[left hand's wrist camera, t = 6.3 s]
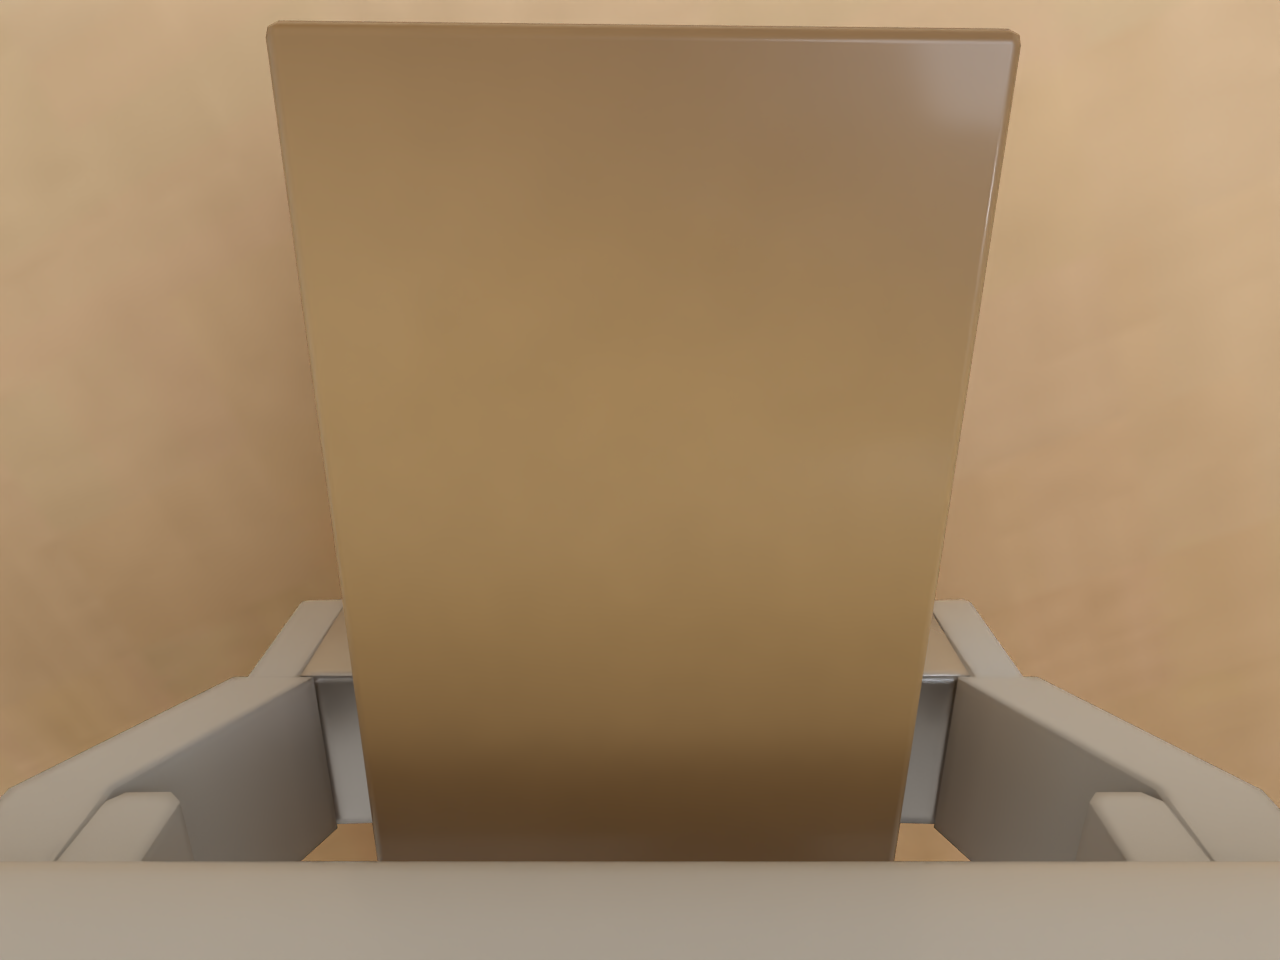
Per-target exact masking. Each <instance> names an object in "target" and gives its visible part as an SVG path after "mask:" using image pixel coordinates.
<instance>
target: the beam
mask: <svg viewBox="0 0 1280 960" xmlns="http://www.w3.org/2000/svg"><path fill="white" fill-rule="evenodd" d="M266 43H267V50H268V58H269V65H270V72H271V80H272V87H273V94H274V102H275V109H276V117H277V124H278V131H279V139H280V146H281V153H282V161H283V168H284V175H285V183H286V190H287V198H288V205H289V212H290V220H291V227H292V234H293V242H294V249H295V257H296V264H297V271H298V279H299V286H300V293H301V301H302V308H303V316H304V323H305V330H306V338H307V345H308V352H309V360H310V367H311V374H312V382H313V389H314V397H315V404H316V411H317V419H318V426H319V433H320V441H321V448H322V456H323V463H324V470H325V478H326V485H327V492H328V500H329V507H330V515H331V522H332V529H333V537H334V544H335V551H336V559H337V566H338V573H339V581H340V588H341V596H342V603H343V610H344V618H345V625H346V632H347V640H348V647H349V655H350V662H351V669H352V677H353V684H354V691H355V699H356V706H357V714H358V721H359V728H360V736H361V743H362V750H363V758H364V765H365V772H366V780H367V787H368V795H369V802H370V809H371V817H372V824H373V831H374V839H375V846H376V854H377V861H894V859H895V852H896V846H897V839H898V833H899V826H900V820H901V814H902V807H903V801H904V794H905V788H906V781H907V775H908V768H909V762H910V756H911V749H912V743H913V736H914V730H915V723H916V717H917V711H918V704H919V698H920V691H921V685H922V678H923V672H924V665H925V659H926V653H927V646H928V640H929V633H930V627H931V620H932V614H933V608H934V601H935V595H936V588H937V582H938V575H939V569H940V562H941V556H942V550H943V543H944V537H945V530H946V524H947V517H948V511H949V504H950V498H951V492H952V485H953V479H954V472H955V466H956V459H957V453H958V447H959V440H960V434H961V427H962V421H963V414H964V408H965V401H966V395H967V389H968V382H969V376H970V369H971V363H972V356H973V350H974V344H975V337H976V331H977V324H978V318H979V311H980V305H981V298H982V292H983V286H984V279H985V273H986V266H987V260H988V253H989V247H990V241H991V234H992V228H993V221H994V215H995V208H996V202H997V195H998V189H999V183H1000V176H1001V170H1002V163H1003V157H1004V150H1005V144H1006V137H1007V131H1008V125H1009V118H1010V112H1011V105H1012V99H1013V92H1014V86H1015V80H1016V73H1017V67H1018V60H1019V54H1020V47H1021V44H1020V37H1019V34H1017V33H1015V32H1013V31H1011V30H1009V29H979V28H889V27H798V26H708V25H618V24H528V23H437V22H347V21H278V22H275V23H273V24H271V25H269V26H268V28H267V34H266Z"/></svg>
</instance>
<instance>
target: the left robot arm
mask: <svg viewBox="0 0 1280 960" xmlns="http://www.w3.org/2000/svg"><path fill="white" fill-rule="evenodd" d="M348 823H372V817H371V809H370V802H369V795H368V787H367V780H366V772H365V765H364V758H363V750H362V743H361V736H360V728H359V721H358V714H357V706H356V699H355V691H354V684H353V677H352V669H351V662H350V655H349V647H348V640H347V632H346V625H345V618H344V610H343V603H342V599H334V600H308V601H303V602H301V603H300V604H299V606H298V607H297V609H296V610H295V611H294V613H293V614H292V616H291V617H290V618H289V620H288V621H287V623H286V624H285V625H284V627H283V628H282V630H281V631H280V632H279V634H278V635H277V636H276V638H275V639H274V641H273V642H272V643H271V645H270V646H269V648H268V649H267V650H266V652H265V653H264V655H263V656H262V657H261V659H260V660H259V662H258V663H257V664H256V666H255V667H254V669H253V670H252V671H251V673H250V674H249V675H248V677H232V678H230V679H228V680H226V681H224V682H222V683H220V684H218V685H216V686H214V687H212V688H210V689H208V690H206V691H204V692H202V693H200V694H198V695H196V696H194V697H192V698H190V699H188V700H186V701H184V702H182V703H180V704H178V705H176V706H174V707H172V708H170V709H168V710H166V711H164V712H162V713H160V714H158V715H156V716H154V717H152V718H150V719H148V720H146V721H144V722H142V723H140V724H138V725H136V726H134V727H132V728H130V729H128V730H126V731H124V732H122V733H120V734H118V735H116V736H114V737H112V738H110V739H108V740H106V741H104V742H102V743H100V744H98V745H96V746H94V747H92V748H90V749H88V750H86V751H84V752H82V753H80V754H78V755H76V756H73V757H71V758H69V759H67V760H65V761H63V762H61V763H59V764H57V765H55V766H53V767H51V768H49V769H47V770H45V771H43V772H41V773H39V774H37V775H35V776H33V777H31V778H29V779H27V780H25V781H23V782H21V783H19V784H17V785H15V786H13V787H11V788H9V789H8V790H7V791H6V792H5V793H4V794H3V795H2V796H1V797H0V960H1280V809H1279V808H1278V807H1277V806H1276V805H1275V804H1274V802H1273V801H1272V800H1271V799H1270V798H1269V797H1268V796H1267V795H1266V794H1265V793H1264V792H1263V791H1262V790H1261V789H1259V788H1257V787H1255V786H1253V785H1251V784H1249V783H1247V782H1245V781H1243V780H1241V779H1239V778H1237V777H1235V776H1233V775H1231V774H1229V773H1227V772H1225V771H1223V770H1221V769H1219V768H1217V767H1215V766H1213V765H1211V764H1209V763H1207V762H1205V761H1203V760H1201V759H1199V758H1197V757H1195V756H1194V755H1192V754H1190V753H1188V752H1186V751H1184V750H1182V749H1180V748H1178V747H1176V746H1174V745H1172V744H1170V743H1168V742H1166V741H1164V740H1162V739H1160V738H1158V737H1156V736H1154V735H1152V734H1150V733H1148V732H1146V731H1144V730H1142V729H1140V728H1138V727H1136V726H1134V725H1132V724H1130V723H1128V722H1126V721H1124V720H1122V719H1120V718H1118V717H1116V716H1114V715H1112V714H1110V713H1108V712H1106V711H1104V710H1102V709H1100V708H1098V707H1096V706H1094V705H1092V704H1090V703H1088V702H1086V701H1084V700H1082V699H1080V698H1078V697H1076V696H1074V695H1072V694H1070V693H1068V692H1066V691H1064V690H1062V689H1060V688H1058V687H1056V686H1054V685H1052V684H1051V683H1049V682H1047V681H1045V680H1043V679H1041V678H1039V677H1023V675H1022V674H1021V673H1020V671H1019V670H1018V668H1017V667H1016V665H1015V664H1014V663H1013V661H1012V660H1011V658H1010V657H1009V656H1008V654H1007V653H1006V651H1005V650H1004V649H1003V647H1002V646H1001V644H1000V643H999V642H998V640H997V639H996V637H995V636H994V634H993V633H992V632H991V630H990V629H989V627H988V626H987V625H986V623H985V622H984V620H983V619H982V618H981V616H980V615H979V613H978V612H977V611H976V609H975V608H974V606H973V605H972V603H971V602H969V601H967V600H964V599H951V600H935V601H934V608H933V614H932V620H931V627H930V633H929V640H928V646H927V653H926V659H925V665H924V672H923V678H922V685H921V691H920V698H919V704H918V711H917V717H916V723H915V730H914V736H913V743H912V749H911V756H910V762H909V768H908V775H907V781H906V788H905V794H904V801H903V807H902V814H901V820H900V823H923V824H934V828H935V829H936V830H937V831H939V832H940V833H941V834H942V835H943V836H944V837H945V838H946V839H947V840H948V841H949V842H951V843H952V844H953V845H954V846H955V847H956V848H957V849H958V850H959V851H960V852H961V853H963V854H964V855H965V856H966V857H967V858H968V859H969V860H970V861H302V860H303V859H304V858H305V857H306V856H307V855H308V854H309V853H310V852H311V851H313V850H314V849H315V848H316V847H317V846H318V845H319V844H320V843H321V842H323V841H324V840H325V839H326V838H327V837H328V836H329V835H330V834H331V833H333V832H334V831H335V830H336V829H337V824H348Z"/></svg>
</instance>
